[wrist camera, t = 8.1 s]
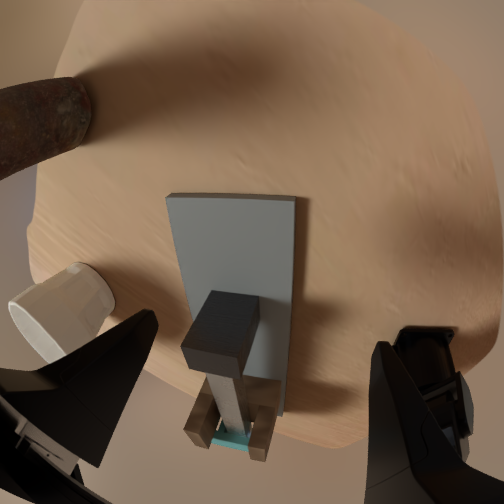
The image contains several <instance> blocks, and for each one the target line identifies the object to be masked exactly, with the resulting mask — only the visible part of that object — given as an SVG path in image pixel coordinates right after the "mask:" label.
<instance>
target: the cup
mask: <svg viewBox="0 0 504 504" xmlns="http://www.w3.org/2000/svg"><path fill="white" fill-rule="evenodd" d="M114 307H115V300H114V297H113V294H112V291H111V290H110V288H109V286H108V285H107V283H106V281H105V280H104V279H103V278H102V277H101V276H100V275H99V274H98V273H97V272H96V271H95V270H94V269H92V268H91V267H89V266H88V265H86V264H83V263H80V262H77V263H72V264H71V265H70V266H69V267H68V268H66V269H65V270H63V271H61V272H59V273H58V274H56V275H54V276H53V277H51V278H49V279H48V280H46V281H45V282H43V283H40V284H35V285H32V286H30V287H29V288H27V289H26V290H25V291H23V292H22V293H20V294H19V295H18V296H16V297H15V298H13V299H12V300H10V301H9V311H10V314H11V316H12V319H13V321H14V322H15V324H16V326H17V327H18V328H19V330H20V332H21V333H22V335H23V336H24V337H25V338H26V340H27V341H28V342H29V344H30V345H31V346H32V347H33V348H34V349H35V350H36V351H37V352H38V353H39V355H40V356H41V357H42V358H43V359H45V360H46V361H47V362H48V363H49V364H50V363H52V362H54V361H56V360H58V359H60V358H62V357H64V356H66V355H68V354H69V353H71V352H73V351H75V350H76V349H78V348H80V347H82V346H83V345H85V344H86V343H88V342H90V341H91V340H93V339H95V338H96V336H97V334H98V332H99V330H100V328H101V326H102V324H103V322H104V320H105V319H106V318H107V317H108V316H109V315H110V313H111V312H112V311H113V310H114Z"/></svg>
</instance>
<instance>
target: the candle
mask: <svg viewBox="0 0 504 504" xmlns="http://www.w3.org/2000/svg"><path fill="white" fill-rule="evenodd" d="M91 114H92V112H91V103H90V100H89V98H88V96H87V93H86V90H85V88H84V86H83V85H82V83H81V82H80V80H79V79H76V78H72V77H62V78H54V79H46V80H39V81H34V82H28V83H23V84H19V85H15V86H10V87H7V88H3V89H0V180H2V179H4V178H6V177H8V176H10V175H12V174H14V173H16V172H18V171H21V170H23V169H25V168H27V167H30V166H32V165H34V164H37V163H39V162H42V161H44V160H47V159H49V158H52V157H54V156H57V155H59V154H62V153H64V152H67V151H70V150H72V149H75V148H76V147H78V146H79V145H80V143H81V140H82V138H83V137H84V135H85V133H86V131H87V128H88V126H89V123H90V119H91Z"/></svg>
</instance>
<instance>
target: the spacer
mask: <svg viewBox="0 0 504 504" xmlns="http://www.w3.org/2000/svg"><path fill="white" fill-rule="evenodd" d="M253 426H254V425H253ZM252 429H253V428H252ZM251 433H252V431H251ZM250 436H251V435H250ZM249 439H250V438H247V437H242V436H238V435H233V434H229V433H228V432H227V429H226V427H225V424H224V422H223V419H222V421H221V424H220V427H219V429H218V431H217V430H216V431H215V433H214V436H213V439H212V441H211V443H214V444H217V445H221V446H225V447H229V448H233V449H238V450H243V451H247V452H249V451H248V447H247V446H248V443H249Z"/></svg>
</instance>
